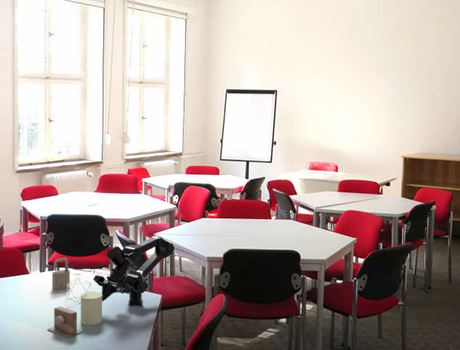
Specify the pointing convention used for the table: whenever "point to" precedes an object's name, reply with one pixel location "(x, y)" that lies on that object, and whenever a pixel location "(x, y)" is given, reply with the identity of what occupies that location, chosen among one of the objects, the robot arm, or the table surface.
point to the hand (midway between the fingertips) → (102, 300)
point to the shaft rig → (65, 322)
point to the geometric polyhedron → (78, 283)
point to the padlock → (60, 276)
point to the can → (91, 308)
